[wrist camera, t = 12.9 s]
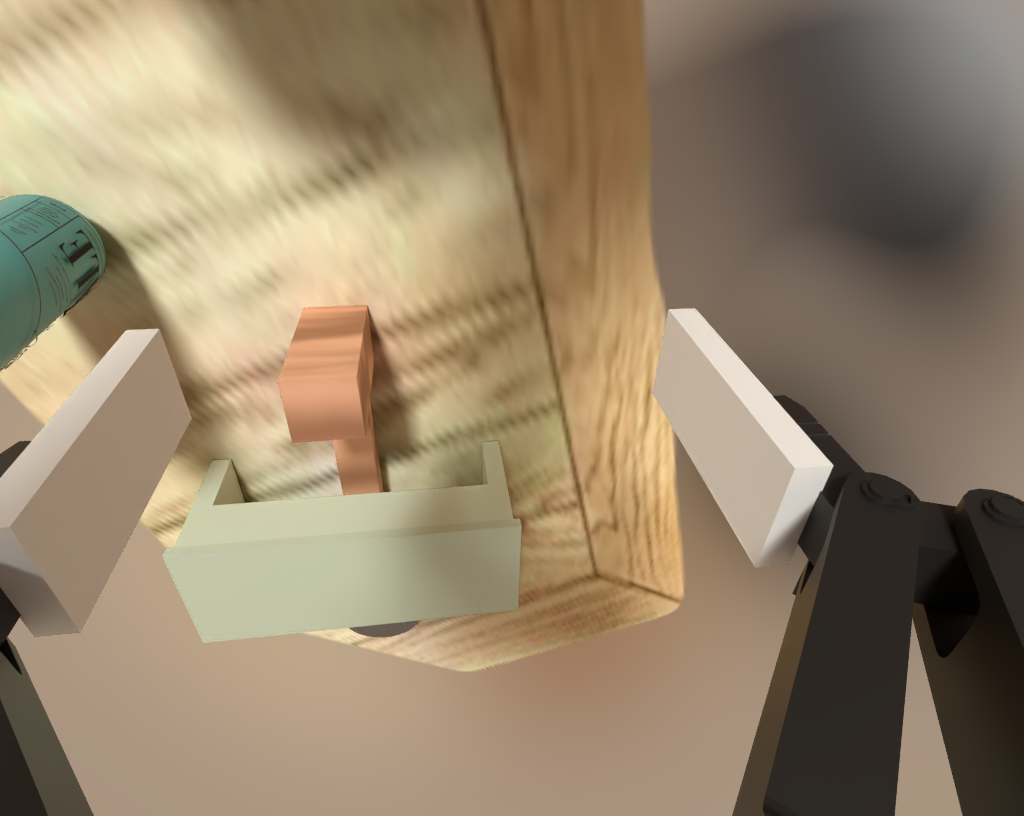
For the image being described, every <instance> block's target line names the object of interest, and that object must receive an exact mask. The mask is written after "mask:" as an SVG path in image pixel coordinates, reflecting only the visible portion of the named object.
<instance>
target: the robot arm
mask: <svg viewBox="0 0 1024 816" xmlns="http://www.w3.org/2000/svg"><path fill="white" fill-rule="evenodd" d="M652 393H653V395H654V397H655V398H656V400H657V402H658V403H659V405H660V407H661V409H662V410H663V412H664V414H665V415H666V417H667V419H668V420H669V422H670V424H671V426H672V427H673V429H674V431H675V432H676V434H677V436H678V437H679V439H680V441H681V442H682V444H683V446H684V448H685V449H686V451H687V453H688V454H689V456H690V458H691V460H692V461H693V463H694V465H695V466H696V468H697V470H698V471H699V473H700V475H701V476H702V478H703V480H704V482H705V483H706V485H707V487H708V488H709V490H710V492H711V493H712V495H713V497H714V499H715V500H716V502H717V504H718V505H719V507H720V509H721V510H722V512H723V514H724V516H725V517H726V519H727V520H728V522H729V524H730V526H731V527H732V529H733V531H734V533H735V534H736V536H737V538H738V539H739V541H740V543H741V544H742V546H743V548H744V549H745V551H746V553H747V554H748V556H749V558H750V560H751V561H752V563H753V565H754V566H755V568H758V567H768V566H779V565H789V564H790V562H791V559H792V557H793V555H794V553H795V550H796V548H797V546H798V545H799V546H800V547H801V549H802V550H803V552H804V553H805V555H806V556H807V558H808V561H807V564H806V566H805V568H804V570H803V572H802V574H801V576H800V578H799V580H798V583H797V585H796V587H795V589H794V591H793V594H794V595H796V597H795V601H794V604H793V608H792V611H791V615H790V618H789V622H788V625H787V628H786V632H785V635H784V639H783V643H782V646H781V649H780V653H779V656H778V659H777V663H776V666H775V670H774V673H773V677H772V680H771V684H770V687H769V691H768V695H767V697H766V701H765V705H764V708H763V711H762V715H761V718H760V722H759V725H758V729H757V732H756V735H755V739H754V743H753V746H752V749H751V753H750V756H749V760H748V763H747V766H746V770H745V773H744V777H743V780H742V784H741V787H740V791H739V794H738V797H737V801H736V804H735V808H734V811H733V815H732V816H895V805H896V794H897V783H898V770H899V760H900V749H901V738H902V737H901V736H902V726H903V715H904V704H905V693H906V681H907V670H908V659H909V648H910V647H909V646H910V636H911V625H912V618H913V621H914V625H915V629H916V633H917V637H918V641H919V645H920V649H921V653H922V657H923V661H924V665H925V669H926V673H927V676H928V681H929V684H930V688H931V692H932V696H933V700H934V704H935V708H936V712H937V716H938V720H939V724H940V728H941V731H942V736H943V740H944V744H945V748H946V752H947V755H948V759H949V763H950V767H951V771H952V775H953V779H954V783H955V787H956V791H957V795H958V798H959V802H960V806H961V811H962V815H963V816H1024V502H1023V501H1021V500H1019V499H1018V498H1017V499H1016V498H1015V497H1013V496H1011V495H1008V494H1004V493H1001V492H998V491H994V490H987V489H975V490H970V491H968V492H967V493H966V494H965V495H964V496H963V498H962V500H961V501H960V503H959V504H958V506H957V507H955V506H949V505H942V504H936V503H930V502H923V501H920V500H919V499H918V497H917V496H916V495H915V494H914V493H913V491H912V490H910V489H909V488H907V487H906V486H905V485H903V484H902V483H900V482H898V481H896V480H894V479H892V478H889V477H887V476H884V475H880V474H876V473H866V472H864V470H862V468H861V467H860V466H859V465H858V464H857V463H856V462H855V461H854V460H853V459H852V458H851V457H850V455H849V454H848V453H847V452H846V451H845V450H844V449H843V448H842V447H841V446H840V445H839V444H838V443H837V442H836V440H835V439H834V438H833V437H832V436H831V435H829V436H828V432H827V431H826V430H825V429H824V428H823V427H822V426H821V424H818V423H817V420H816V419H815V418H814V417H813V416H812V415H811V414H810V413H809V412H808V411H807V410H806V408H805V407H803V406H801V405H800V404H798V403H797V402H795V401H793V400H792V399H790V398H788V397H787V396H784V395H783V396H772V395H771V394H770V393H769V392H768V391H767V389H766V388H765V387H764V386H763V385H762V384H761V383H760V381H759V380H758V379H757V378H756V377H755V376H754V375H753V374H752V373H751V371H750V370H749V369H748V368H747V367H746V366H745V364H744V363H743V362H742V361H741V360H740V359H739V358H738V357H737V355H736V354H735V353H734V352H733V351H732V350H731V349H730V347H729V346H728V345H727V344H726V343H725V342H724V341H723V339H722V338H721V337H720V336H719V335H718V334H717V333H716V332H715V331H714V329H713V328H712V327H711V326H710V325H709V324H708V323H707V321H706V320H705V319H704V318H703V317H702V316H701V314H700V313H699V312H698V311H697V310H696V309H695V308H694V309H669V310H668V315H667V320H666V325H665V330H664V336H663V341H662V346H661V351H660V356H659V361H658V366H657V371H656V376H655V382H654V387H653V392H652ZM191 420H192V417H191V415H190V412H189V409H188V406H187V404H186V401H185V398H184V395H183V392H182V390H181V387H180V384H179V381H178V379H177V376H176V373H175V370H174V367H173V365H172V362H171V359H170V356H169V354H168V351H167V348H166V345H165V342H164V340H163V337H162V334H161V331H160V329H139V330H126V331H125V332H124V333H123V334H122V336H121V337H120V338H119V339H118V340H117V342H116V343H115V344H114V345H113V346H112V347H111V349H110V350H109V351H108V352H107V353H106V354H105V356H104V357H103V358H102V359H101V360H100V362H99V363H98V364H97V365H96V366H95V367H94V369H93V370H92V371H91V372H90V373H89V374H88V376H87V377H86V378H85V379H84V380H83V381H82V383H81V384H80V385H79V386H78V387H77V389H76V390H75V391H74V392H73V393H72V394H71V396H70V397H69V398H68V399H67V400H66V401H65V403H64V404H63V405H62V406H61V407H60V408H59V410H58V411H57V412H56V413H55V414H54V416H53V417H52V418H51V419H50V420H49V421H48V423H47V424H46V425H45V426H44V427H43V428H42V430H41V431H40V432H39V433H38V434H37V435H36V437H35V438H34V439H33V440H32V441H20V442H18V443H16V444H14V445H13V446H12V447H10V448H8V449H7V450H5V451H4V452H3V453H1V454H0V816H94V815H93V813H92V811H91V809H90V806H89V804H88V802H87V800H86V798H85V796H84V794H83V791H82V789H81V788H80V785H79V783H78V781H77V779H76V776H75V774H74V772H73V770H72V768H71V766H70V763H69V761H68V759H67V757H66V755H65V753H64V750H63V748H62V746H61V744H60V742H59V740H58V737H57V736H56V733H55V731H54V729H53V727H52V725H51V723H50V720H49V718H48V716H47V714H46V712H45V710H44V707H43V705H42V703H41V701H40V699H39V697H38V695H37V692H36V690H35V688H34V686H33V684H32V682H31V679H30V677H29V675H28V673H27V671H26V669H25V666H24V664H23V662H22V660H21V658H20V656H19V653H18V651H17V649H16V647H15V646H14V645H13V643H12V642H11V641H10V640H9V638H8V637H7V636H8V635H9V633H10V632H11V630H12V628H13V627H14V625H15V624H16V622H17V620H18V619H19V617H20V618H21V620H22V621H23V622H24V624H25V625H26V626H27V628H28V629H29V630H30V632H31V633H32V634H33V636H34V637H40V636H51V635H61V634H72V633H80V632H81V630H82V628H83V626H84V625H85V623H86V621H87V619H88V617H89V615H90V613H91V611H92V609H93V607H94V605H95V604H96V602H97V600H98V598H99V595H100V594H101V592H102V590H103V588H104V586H105V584H106V582H107V581H108V578H109V577H110V575H111V573H112V571H113V569H114V567H115V565H116V563H117V561H118V559H119V557H120V555H121V554H122V552H123V549H124V548H125V546H126V544H127V542H128V540H129V538H130V536H131V535H132V533H133V531H134V528H135V527H136V525H137V523H138V521H139V519H140V517H141V515H142V513H143V512H144V510H145V508H146V506H147V504H148V502H149V500H150V498H151V496H152V494H153V492H154V490H155V489H156V487H157V485H158V483H159V481H160V479H161V477H162V475H163V473H164V471H165V469H166V467H167V466H168V464H169V462H170V460H171V458H172V456H173V454H174V452H175V450H176V448H177V446H178V444H179V443H180V441H181V439H182V437H183V435H184V433H185V431H186V429H187V427H188V425H189V423H190V421H191Z"/></svg>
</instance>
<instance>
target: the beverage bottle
mask: <svg viewBox="0 0 1024 816" xmlns="http://www.w3.org/2000/svg"><path fill="white" fill-rule="evenodd" d="M2 197H3V196H2ZM104 266H106V261H105V249H104V245H103V243H102V240H101V238H100V236H99V234H98V233H97V231H96V230H95V228H94V227H93V226H92V224H91V223H90V222H89V221H88V220H87V219H86V218H85V217H84V216H83V215H81V214H80V213H79V212H78V211H76V210H75V209H73V208H72V207H70V206H68V205H67V204H65V203H63V202H60V201H58V200H56V199H53V198H49V197H46V196H40V195H16V196H11V197H8V198H5V199H3V200H1V201H0V369H1V370H2V369H3V368H5V367H6V366H7V365H8V363H9V362H10V361H11V360H12V359H13V358H14V357H15V358H16V356H17V355H18V356H19V353H20V354H21V356H22V354H23V353H21V351H22V350H23V349H24V348H25V347H26V348H27V347H30V346H27V345H29V344H30V343H31V342H32V341H33V340H34V339H35V338H36V341H37V336H38V335H39V334H40V333H42V332H44V330H45V329H46V328H48V329H49V327H48V326H49V325H50V324H51V323H52V322H54V321H56V319H57V318H58V317H59V316H60V315H61V314H62V313H63V312H64V315H63V316H65V315H66V312H67V311H68V310H69V309H71V308H73V306H75V305H76V304H77V303H78V302H79V301H81V300H82V299H83V298H84V297H85V296H84V295H85V294H86V293H87V292H89V293H90V289H91V287H92V286H93V285H94V284H95V283H96V282H97V281H98V279H99V278H100V276H102V273H103V270H104ZM104 272H105V270H104ZM102 278H103V277H102ZM99 281H100V280H99ZM92 290H93V289H92ZM87 294H88V293H87ZM87 294H86V295H87ZM83 296H84V297H83ZM82 297H83V298H82ZM80 299H81V300H80ZM76 300H77V301H76ZM75 301H76V302H75ZM74 302H75V304H74V305H73V306H72V307H70V306H71V305H72V304H73V303H74ZM69 307H70V308H69ZM68 308H69V309H68ZM67 309H68V310H67ZM61 318H62V317H61ZM53 325H54V324H53ZM48 329H47V330H48ZM45 331H46V330H45ZM35 343H36V342H35ZM33 345H34V344H33ZM25 350H26V349H25ZM22 352H23V351H22ZM18 356H17V357H18ZM21 356H20V357H21ZM18 358H19V357H18ZM13 361H14V359H13ZM12 363H13V362H12V361H11V363H10V364H9V365H8V366H10V365H11V364H12ZM6 364H7V365H6ZM5 365H6V366H5ZM8 366H7V367H8ZM2 367H3V368H2ZM7 367H6V368H7ZM6 368H5V369H6ZM8 368H9V367H8ZM1 370H0V371H1Z"/></svg>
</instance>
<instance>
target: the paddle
mask: <svg viewBox="0 0 1024 816" xmlns="http://www.w3.org/2000/svg"><path fill="white" fill-rule="evenodd" d="M373 367H374V352H373V345H372V337H371V330H370V322H369V315H368V307H367V305H364V306H340V307H315V308H303V311H302V314H301V317H300V319H299V322H298V325H297V328H296V331H295V334H294V337H293V339H292V342H291V345H290V348H289V351H288V354H287V356H286V359H285V362H284V365H283V368H282V371H281V373H280V376H279V379H278V386H279V390H280V394H281V398H282V402H283V406H284V411H285V415H286V419H287V423H288V427H289V431H290V435H291V439H292V443H296V442H311V441H326V440H333V445H334V450H335V455H336V460H337V465H338V470H339V475H340V480H341V485H342V490H343V495H356V494H369V493H382V492H384V491H383V484H382V477H381V470H380V463H379V456H378V449H377V442H376V435H375V429H374V422H373V415H372V408H371V401H370V395H371V386H372V376H373Z"/></svg>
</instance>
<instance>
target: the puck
mask: <svg viewBox="0 0 1024 816" xmlns="http://www.w3.org/2000/svg"><path fill="white" fill-rule="evenodd" d="M418 622H419V620H418V621H409V622H399V623H389V624H380V625H370V626H360V627H351V628H350V629H351V630H353V631H354V632H357V633H359V634H362V635H365V636H371V637H389V636H395V635H398V634H401V633H404V632H406V631H408V630H410V629H411V628H413V627H414V626H415V625H416V624H417V623H418Z"/></svg>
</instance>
